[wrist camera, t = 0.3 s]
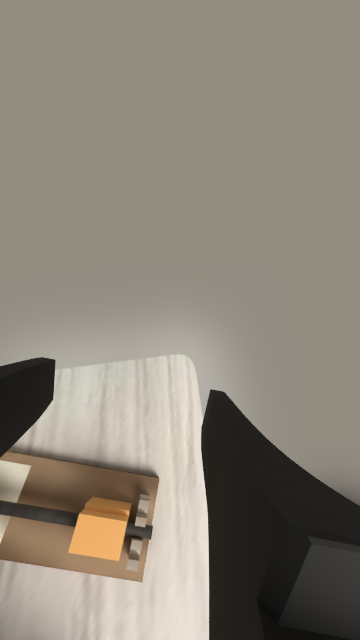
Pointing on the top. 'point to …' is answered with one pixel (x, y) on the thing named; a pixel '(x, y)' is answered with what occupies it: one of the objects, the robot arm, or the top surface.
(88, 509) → the orange notched block
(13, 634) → the top surface
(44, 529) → the cord board
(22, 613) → the top surface
